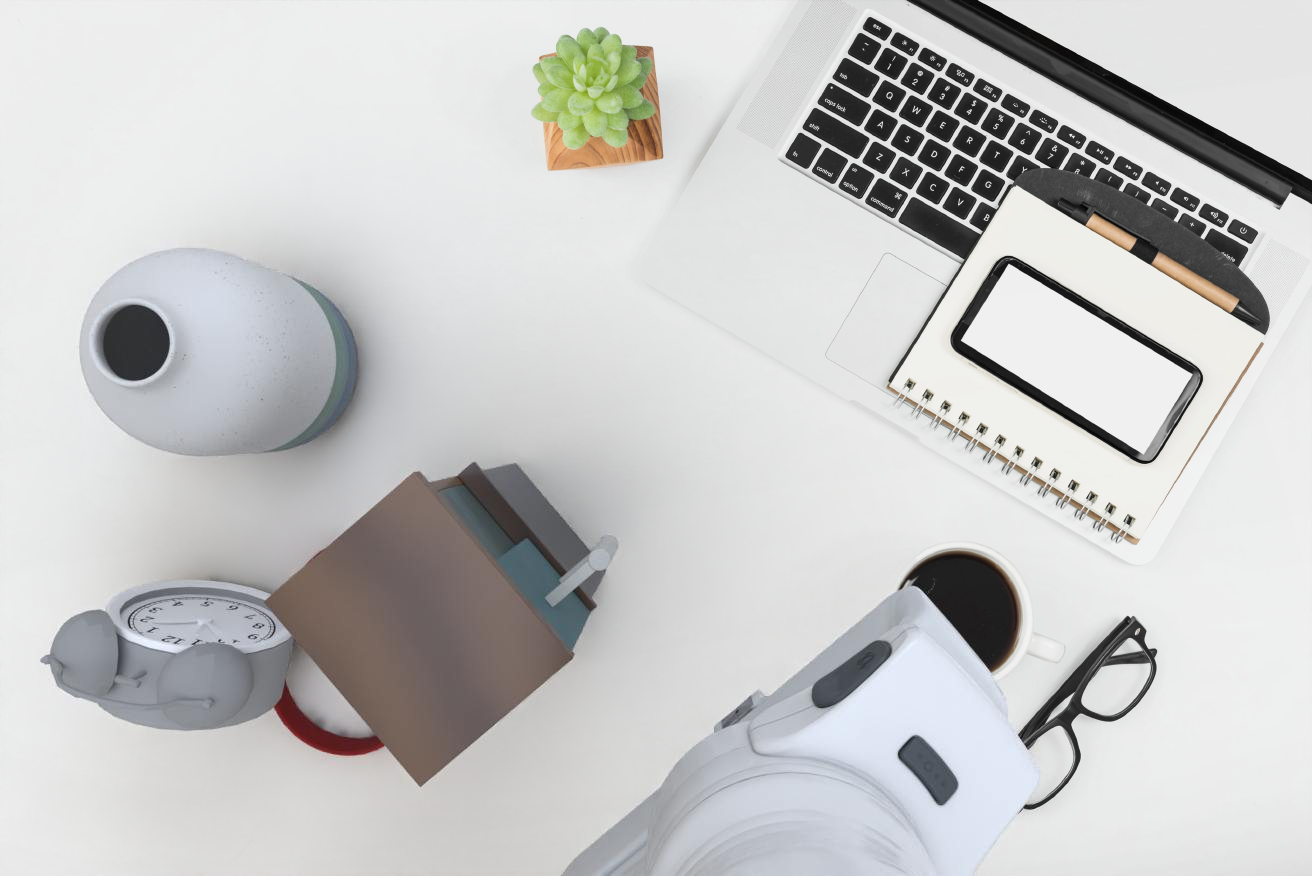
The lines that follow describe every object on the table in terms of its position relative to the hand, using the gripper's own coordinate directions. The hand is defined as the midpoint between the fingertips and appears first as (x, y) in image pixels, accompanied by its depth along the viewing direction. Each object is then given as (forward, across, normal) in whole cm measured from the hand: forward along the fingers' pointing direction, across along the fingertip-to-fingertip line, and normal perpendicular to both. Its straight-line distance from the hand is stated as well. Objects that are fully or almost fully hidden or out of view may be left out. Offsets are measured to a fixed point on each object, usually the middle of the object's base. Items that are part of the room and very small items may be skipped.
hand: (747, 719), depth 41 cm
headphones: (+41, -32, +17) cm, 55 cm away
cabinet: (+41, -13, +14) cm, 45 cm away
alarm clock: (+41, -39, +26) cm, 63 cm away
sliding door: (+19, -5, +11) cm, 22 cm away
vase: (+41, -19, +43) cm, 63 cm away
